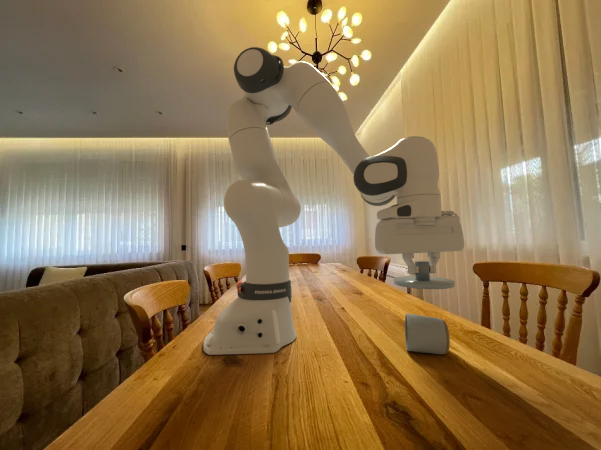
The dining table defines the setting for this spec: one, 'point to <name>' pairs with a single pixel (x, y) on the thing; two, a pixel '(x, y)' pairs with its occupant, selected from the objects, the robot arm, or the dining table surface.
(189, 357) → the dining table surface
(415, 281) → the lid
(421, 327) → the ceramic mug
